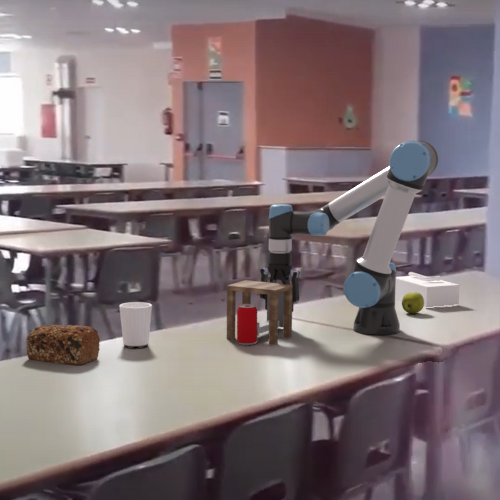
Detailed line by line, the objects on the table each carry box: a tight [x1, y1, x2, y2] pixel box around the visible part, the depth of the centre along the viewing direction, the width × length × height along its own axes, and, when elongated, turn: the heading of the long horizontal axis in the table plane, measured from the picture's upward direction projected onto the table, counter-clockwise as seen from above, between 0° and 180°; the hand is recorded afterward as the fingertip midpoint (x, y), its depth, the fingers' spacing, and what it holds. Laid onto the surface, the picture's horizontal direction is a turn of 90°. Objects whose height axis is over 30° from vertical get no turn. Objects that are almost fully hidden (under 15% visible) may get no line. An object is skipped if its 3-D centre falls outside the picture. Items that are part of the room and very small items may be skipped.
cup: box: [118, 301, 153, 349], centre depth 279 cm, size 10×10×13 cm
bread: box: [25, 324, 101, 366], centre depth 263 cm, size 19×11×10 cm, turn 66°
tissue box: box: [395, 271, 460, 307], centre depth 357 cm, size 14×25×11 cm, turn 23°
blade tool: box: [257, 292, 284, 337], centre depth 297 cm, size 6×23×12 cm, turn 151°
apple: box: [401, 292, 424, 314], centre depth 334 cm, size 8×9×8 cm
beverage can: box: [236, 303, 258, 346], centre depth 284 cm, size 6×6×12 cm
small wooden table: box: [226, 279, 293, 346], centre depth 291 cm, size 17×12×17 cm
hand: (279, 320), depth 305 cm, fingers closed on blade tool, 6 cm apart
